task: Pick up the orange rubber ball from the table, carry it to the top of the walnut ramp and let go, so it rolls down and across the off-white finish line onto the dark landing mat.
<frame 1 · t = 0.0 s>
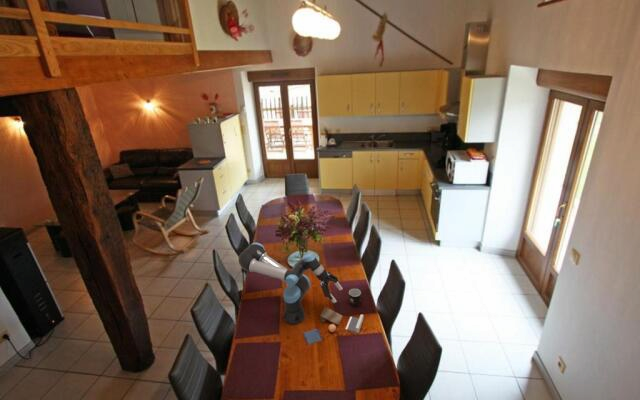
hand: (338, 295, 232), 15 cm above the table, tool tilted 35°, fingers open, 13 cm apart
woven mat: (312, 338, 220), on the table
coffee mug: (355, 304, 245), on the table
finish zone: (353, 324, 227), on the table
ramp: (331, 319, 233), on the table
ball: (332, 328, 222), point 2 cm above the table
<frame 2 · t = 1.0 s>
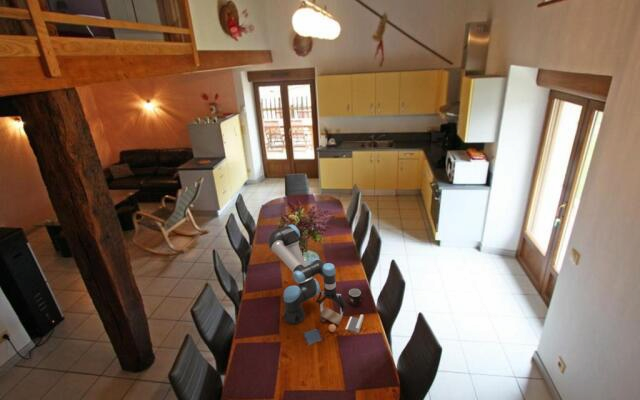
hand: (331, 313, 218), 15 cm above the table, tool pointing down, fingers open, 13 cm apart
nothing on the table moved.
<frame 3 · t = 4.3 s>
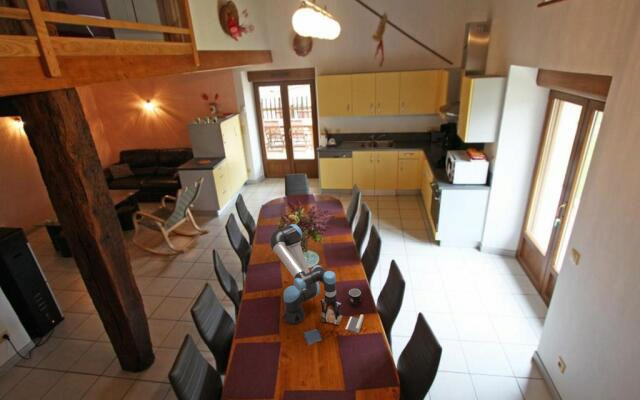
hand: (331, 321, 220), 8 cm above the table, tool pointing down, fingers closed on ball, 5 cm apart
ball: (331, 319, 219), point 10 cm above the table, touching gripper
everything else where it was.
when the fingers open (7 cm above the table, at t = 6.8 s): ball drops 6 cm and tips over, resting on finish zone.
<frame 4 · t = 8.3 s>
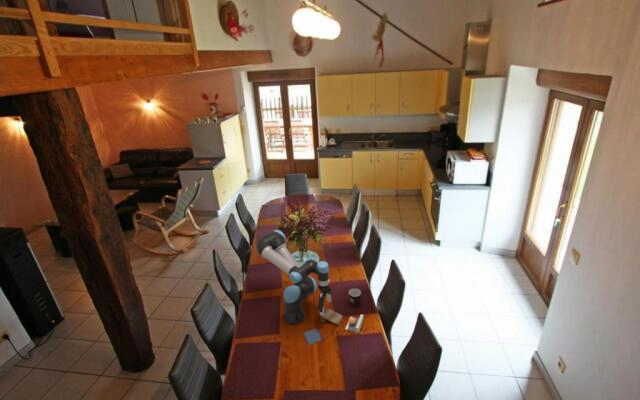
hand: (325, 308, 231), 9 cm above the table, tool pointing down, fingers open, 13 cm apart
ball: (352, 320, 227), point 3 cm above the table, tilted 151°, touching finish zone
everything else where it was.
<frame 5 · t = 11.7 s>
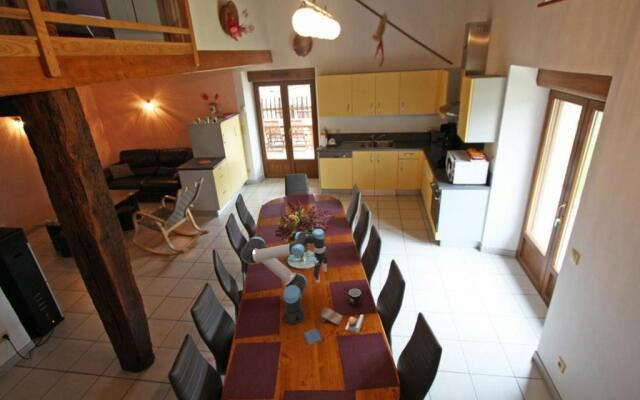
hand: (321, 276, 234), 27 cm above the table, tool pointing down, fingers open, 13 cm apart
nothing on the table moved.
at the end: ball inside the target area (2.0 cm from its centre), point 2.8 cm above the table; the gripper is holding nothing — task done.
